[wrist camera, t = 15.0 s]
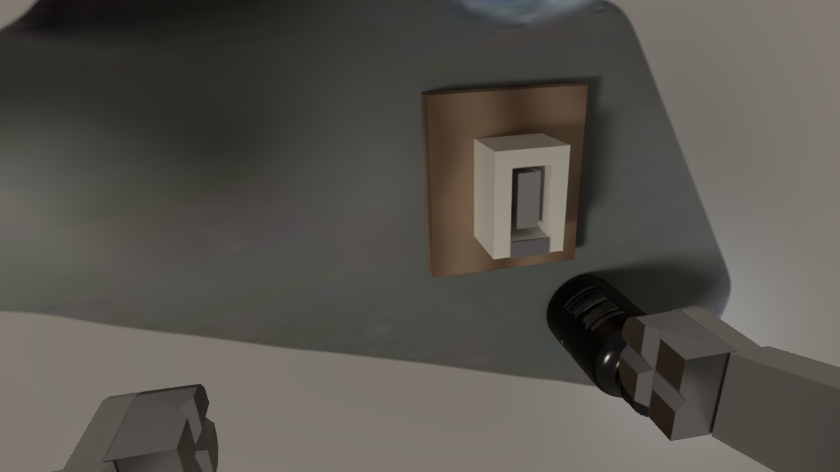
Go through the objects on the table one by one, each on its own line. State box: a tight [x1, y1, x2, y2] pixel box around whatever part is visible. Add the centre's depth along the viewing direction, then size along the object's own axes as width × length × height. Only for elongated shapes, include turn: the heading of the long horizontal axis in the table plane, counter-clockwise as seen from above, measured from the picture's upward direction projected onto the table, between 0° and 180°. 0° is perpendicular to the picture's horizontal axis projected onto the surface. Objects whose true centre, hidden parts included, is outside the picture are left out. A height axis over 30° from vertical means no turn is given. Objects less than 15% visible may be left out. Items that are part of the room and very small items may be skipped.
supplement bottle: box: [547, 276, 648, 417], centre depth 41 cm, size 7×7×12 cm
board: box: [421, 82, 588, 278], centre depth 39 cm, size 12×14×2 cm
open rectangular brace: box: [474, 133, 570, 259], centre depth 36 cm, size 8×5×5 cm
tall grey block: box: [511, 167, 541, 229], centre depth 36 cm, size 2×4×4 cm, turn 2°
